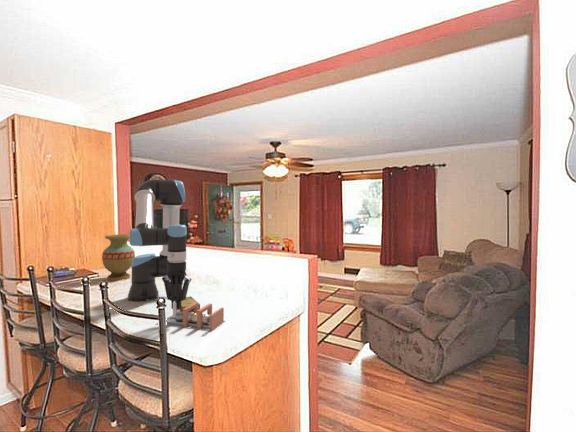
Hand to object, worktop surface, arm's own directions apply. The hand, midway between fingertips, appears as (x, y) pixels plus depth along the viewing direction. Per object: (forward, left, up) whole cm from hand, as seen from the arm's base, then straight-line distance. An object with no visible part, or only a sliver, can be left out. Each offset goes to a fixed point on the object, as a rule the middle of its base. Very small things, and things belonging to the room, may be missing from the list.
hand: (176, 316), depth 128 cm
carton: (-6, +18, -4) cm, 20 cm away
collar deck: (+7, 0, -3) cm, 7 cm away
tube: (+9, 0, -2) cm, 9 cm away
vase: (-88, +61, -3) cm, 107 cm away
